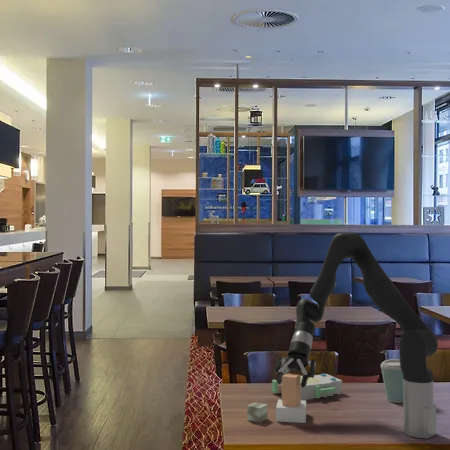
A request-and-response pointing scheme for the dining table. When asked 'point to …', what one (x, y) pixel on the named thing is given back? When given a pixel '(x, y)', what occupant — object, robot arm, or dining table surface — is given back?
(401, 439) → the dining table surface
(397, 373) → the disposable coffee cup
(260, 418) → the sage cube
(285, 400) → the terracotta block
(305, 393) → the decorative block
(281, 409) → the grey base block
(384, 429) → the dining table surface
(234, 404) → the dining table surface
